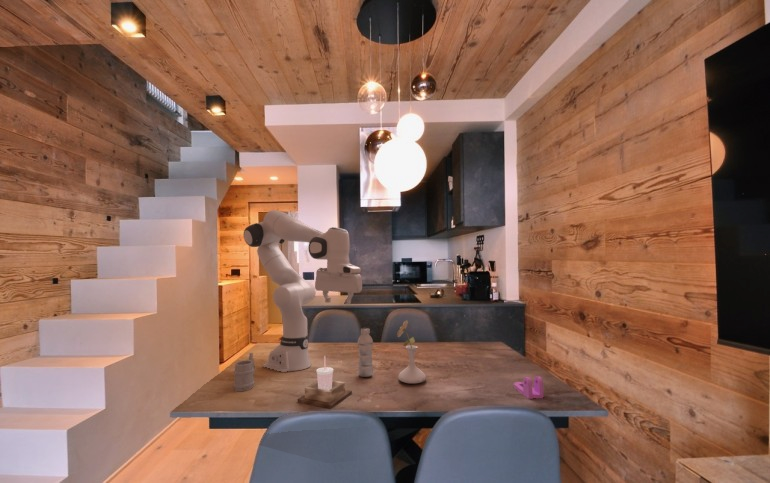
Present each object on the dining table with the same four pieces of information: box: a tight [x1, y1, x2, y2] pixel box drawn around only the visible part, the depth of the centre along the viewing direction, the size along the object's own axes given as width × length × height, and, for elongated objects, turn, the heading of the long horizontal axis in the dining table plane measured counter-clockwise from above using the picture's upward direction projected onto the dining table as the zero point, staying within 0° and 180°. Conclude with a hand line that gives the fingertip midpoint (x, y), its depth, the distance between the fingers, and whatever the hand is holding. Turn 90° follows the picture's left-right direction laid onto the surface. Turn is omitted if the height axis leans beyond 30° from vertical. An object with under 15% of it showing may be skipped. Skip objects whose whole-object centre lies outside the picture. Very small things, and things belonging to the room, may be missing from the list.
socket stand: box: [296, 379, 353, 409], centre depth 127 cm, size 14×14×4 cm
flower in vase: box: [396, 320, 427, 385], centre depth 143 cm, size 13×11×25 cm
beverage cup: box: [315, 355, 334, 391], centre depth 128 cm, size 6×6×14 cm
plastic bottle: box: [357, 327, 375, 378], centre depth 150 cm, size 6×7×20 cm
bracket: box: [513, 375, 545, 400], centre depth 131 cm, size 13×6×7 cm, turn 7°
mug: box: [232, 352, 256, 392], centre depth 140 cm, size 8×12×12 cm, turn 174°
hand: (337, 303), depth 139 cm, fingers open, 8 cm apart
